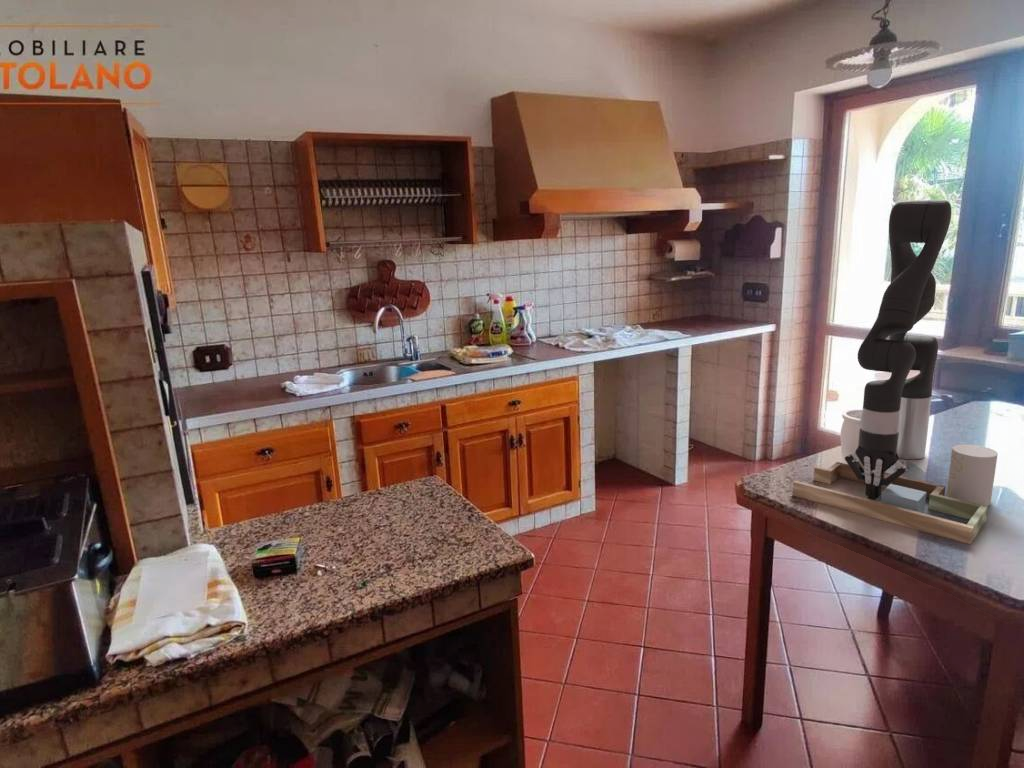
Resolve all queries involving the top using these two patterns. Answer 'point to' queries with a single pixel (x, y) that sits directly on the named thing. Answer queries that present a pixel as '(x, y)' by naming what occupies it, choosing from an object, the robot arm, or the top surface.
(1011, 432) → the top surface
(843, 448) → the jar
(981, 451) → the white cylinder
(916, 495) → the block
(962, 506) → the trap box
